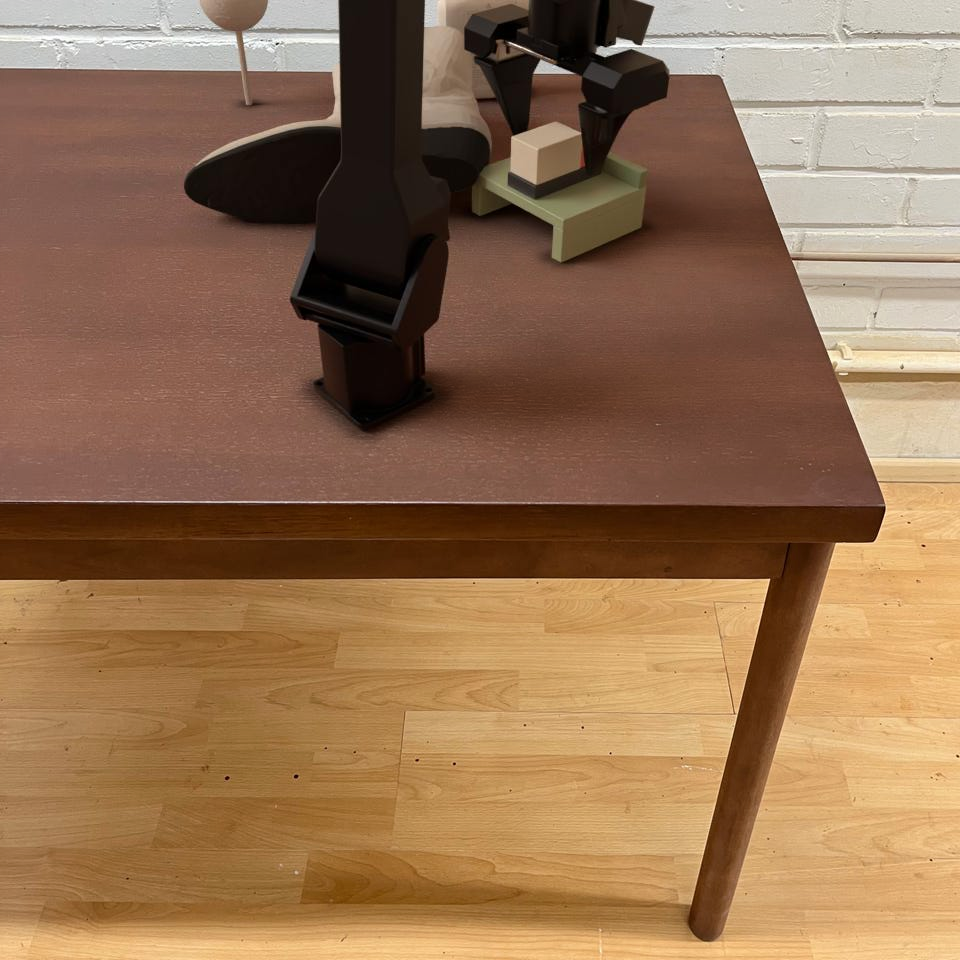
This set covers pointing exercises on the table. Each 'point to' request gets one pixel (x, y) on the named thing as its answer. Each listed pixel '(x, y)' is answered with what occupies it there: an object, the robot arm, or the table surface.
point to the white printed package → (455, 12)
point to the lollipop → (236, 25)
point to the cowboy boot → (317, 146)
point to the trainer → (546, 160)
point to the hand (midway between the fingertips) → (555, 156)
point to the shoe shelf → (574, 204)
